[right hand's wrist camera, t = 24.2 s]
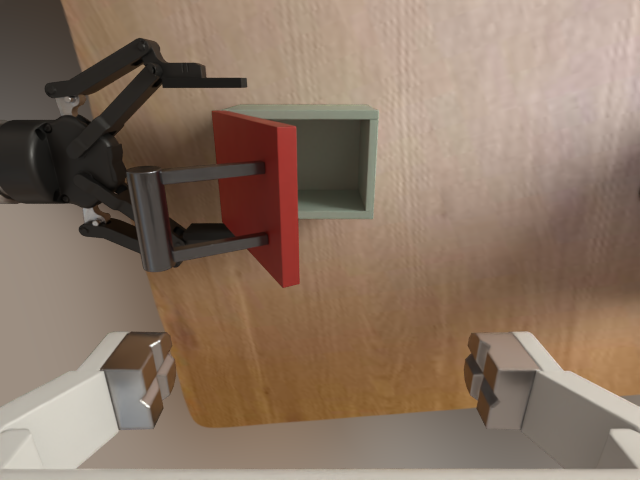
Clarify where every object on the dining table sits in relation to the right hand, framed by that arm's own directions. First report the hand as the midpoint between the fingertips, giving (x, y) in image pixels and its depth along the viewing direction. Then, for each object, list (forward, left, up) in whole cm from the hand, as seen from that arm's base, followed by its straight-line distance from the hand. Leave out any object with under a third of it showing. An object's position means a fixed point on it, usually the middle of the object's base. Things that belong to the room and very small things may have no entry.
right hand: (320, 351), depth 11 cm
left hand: (+4, +5, -27) cm, 28 cm away
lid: (+2, +4, -19) cm, 19 cm away
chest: (+1, +1, -34) cm, 34 cm away
